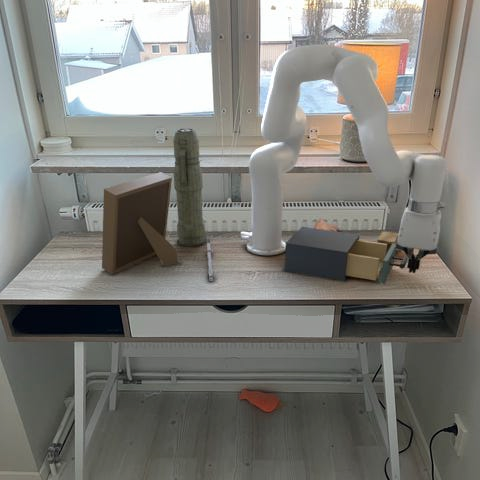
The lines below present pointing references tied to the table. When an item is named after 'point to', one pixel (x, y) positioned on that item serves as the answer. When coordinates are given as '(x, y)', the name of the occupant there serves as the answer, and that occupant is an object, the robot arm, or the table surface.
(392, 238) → the box
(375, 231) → the table surface
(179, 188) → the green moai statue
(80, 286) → the table surface
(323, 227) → the sunglasses case
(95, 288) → the table surface
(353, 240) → the cabinet
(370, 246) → the drawer
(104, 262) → the photo frame
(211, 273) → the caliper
